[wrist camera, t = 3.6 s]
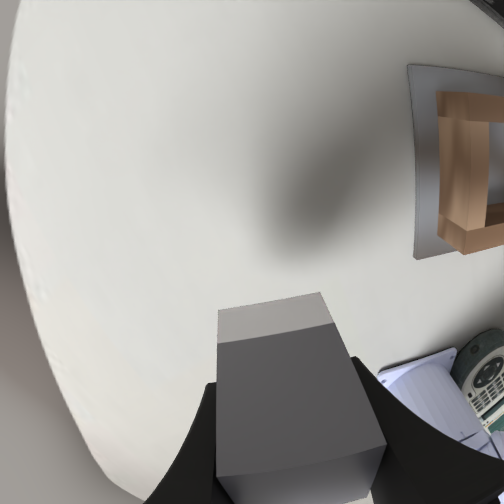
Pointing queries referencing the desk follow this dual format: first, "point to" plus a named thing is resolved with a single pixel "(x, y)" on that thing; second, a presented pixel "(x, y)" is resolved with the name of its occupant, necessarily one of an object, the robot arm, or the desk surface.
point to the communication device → (483, 377)
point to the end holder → (457, 160)
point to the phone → (492, 9)
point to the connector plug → (291, 408)
